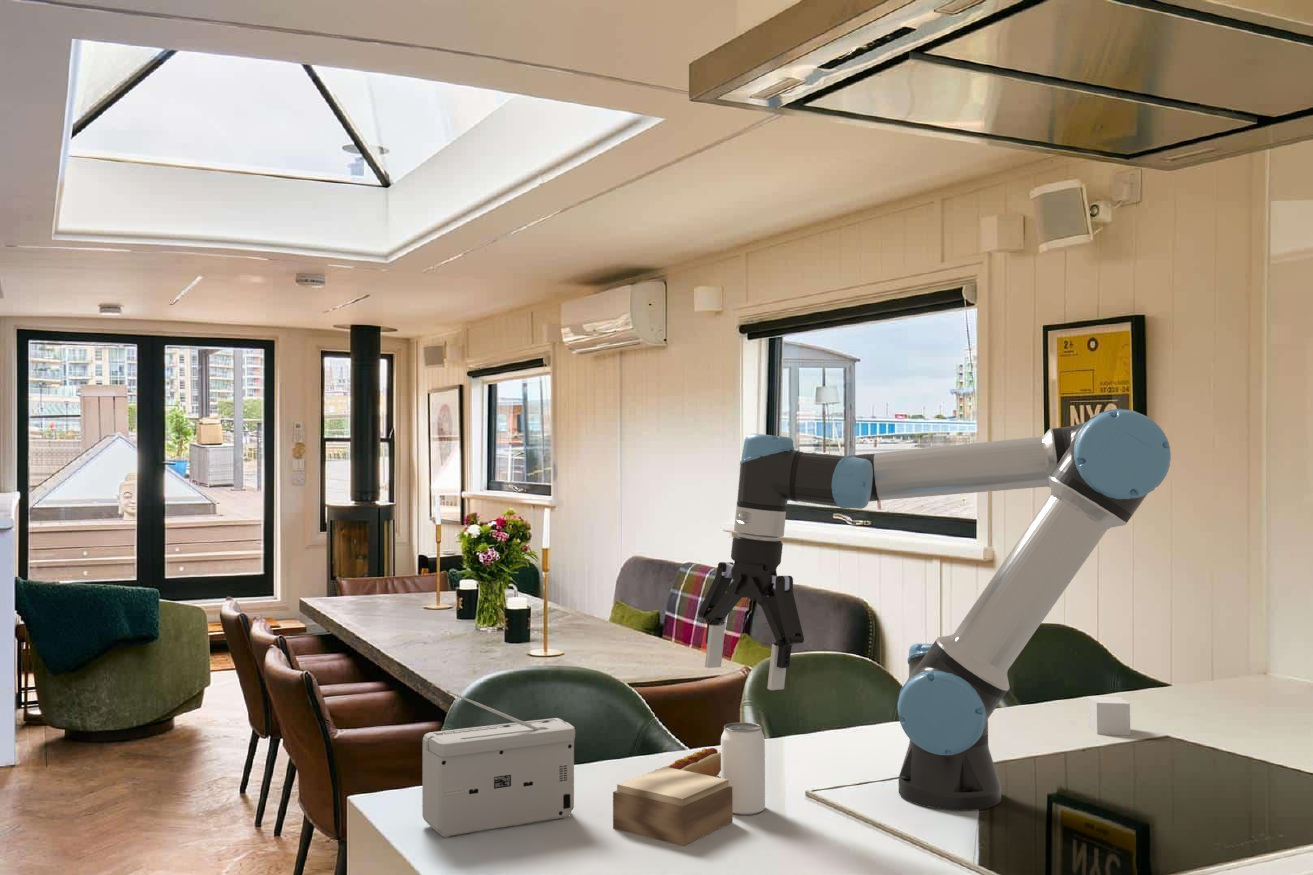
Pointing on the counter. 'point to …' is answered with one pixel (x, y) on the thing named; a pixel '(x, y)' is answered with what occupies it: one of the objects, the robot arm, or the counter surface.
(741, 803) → the can
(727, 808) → the pedestal
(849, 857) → the counter surface
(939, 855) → the counter surface
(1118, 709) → the grey cube
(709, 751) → the food
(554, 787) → the stereo radio cassette player
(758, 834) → the counter surface
